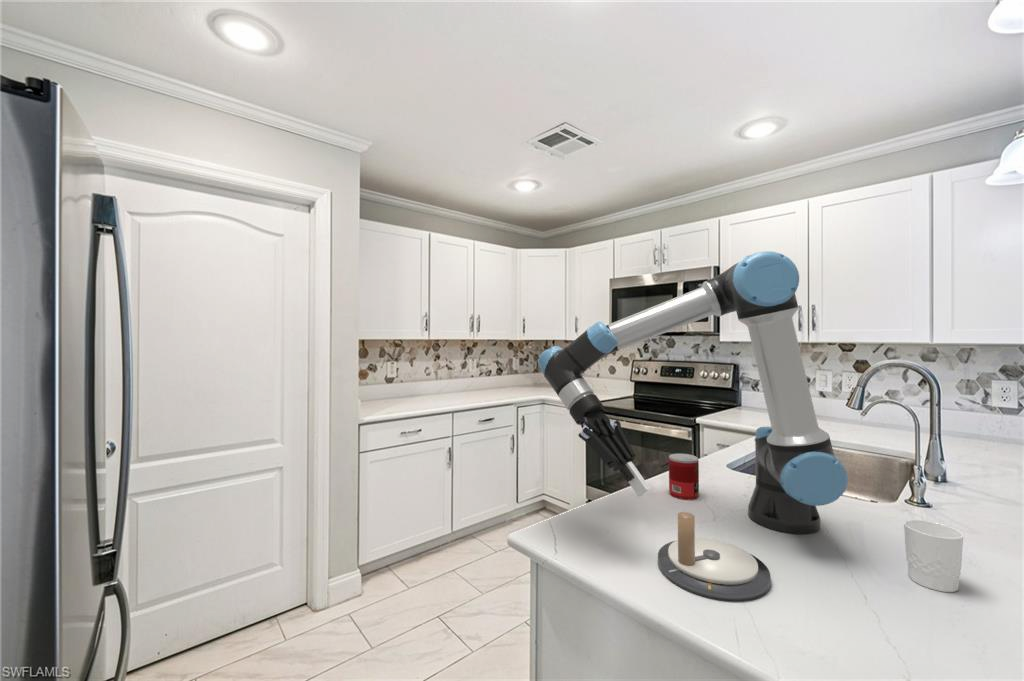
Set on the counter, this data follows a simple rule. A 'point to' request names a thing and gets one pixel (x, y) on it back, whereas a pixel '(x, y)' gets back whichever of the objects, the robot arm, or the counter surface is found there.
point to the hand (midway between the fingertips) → (644, 492)
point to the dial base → (714, 590)
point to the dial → (710, 556)
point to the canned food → (684, 476)
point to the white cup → (933, 554)
